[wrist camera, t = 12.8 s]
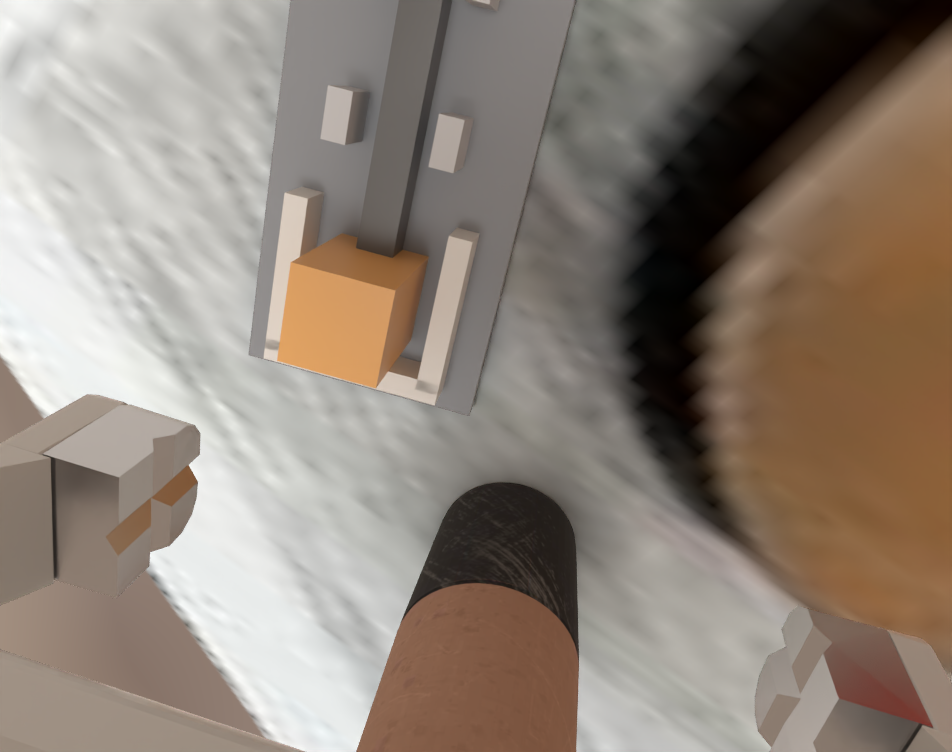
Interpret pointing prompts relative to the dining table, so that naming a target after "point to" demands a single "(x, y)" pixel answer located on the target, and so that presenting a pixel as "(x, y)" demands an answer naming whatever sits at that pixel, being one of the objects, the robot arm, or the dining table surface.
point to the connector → (373, 229)
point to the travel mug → (486, 635)
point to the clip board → (439, 176)
